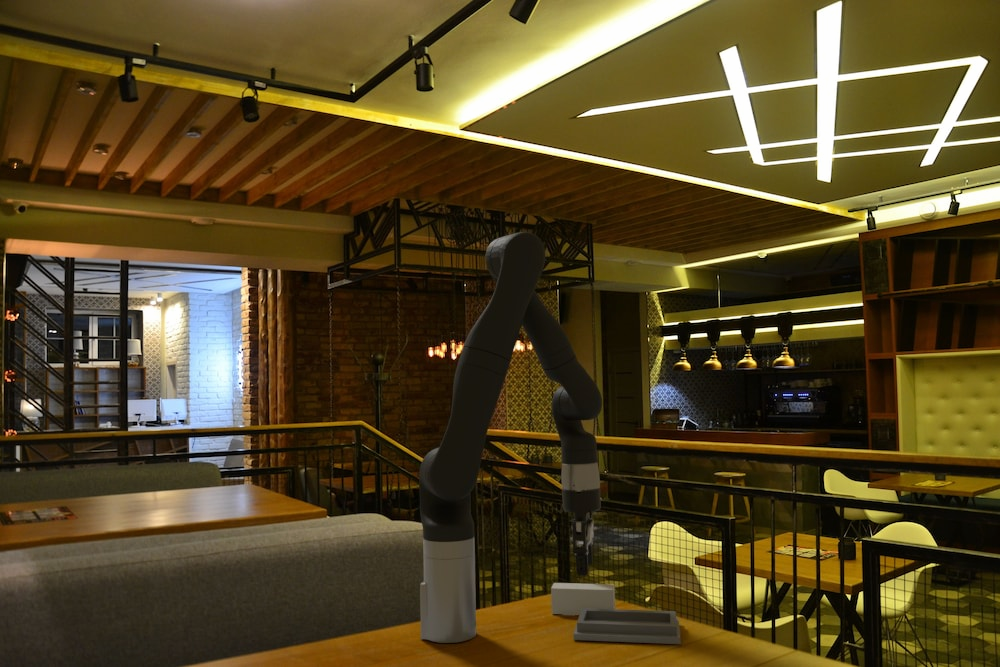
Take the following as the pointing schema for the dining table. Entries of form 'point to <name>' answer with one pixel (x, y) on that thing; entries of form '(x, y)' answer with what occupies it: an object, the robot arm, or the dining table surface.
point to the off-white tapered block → (581, 597)
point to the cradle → (628, 626)
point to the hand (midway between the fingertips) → (584, 569)
